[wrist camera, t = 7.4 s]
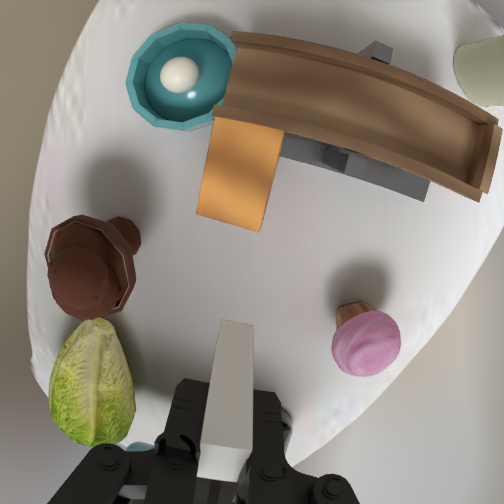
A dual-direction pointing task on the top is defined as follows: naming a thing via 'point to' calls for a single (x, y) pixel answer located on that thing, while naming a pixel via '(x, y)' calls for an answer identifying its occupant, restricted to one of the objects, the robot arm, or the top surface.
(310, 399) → the top surface
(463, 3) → the top surface
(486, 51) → the can
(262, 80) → the chute
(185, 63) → the ball
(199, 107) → the teal bowl
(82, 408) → the lettuce
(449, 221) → the top surface
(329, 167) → the chute stand
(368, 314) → the cupcake
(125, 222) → the ice cream bowl
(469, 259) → the top surface
